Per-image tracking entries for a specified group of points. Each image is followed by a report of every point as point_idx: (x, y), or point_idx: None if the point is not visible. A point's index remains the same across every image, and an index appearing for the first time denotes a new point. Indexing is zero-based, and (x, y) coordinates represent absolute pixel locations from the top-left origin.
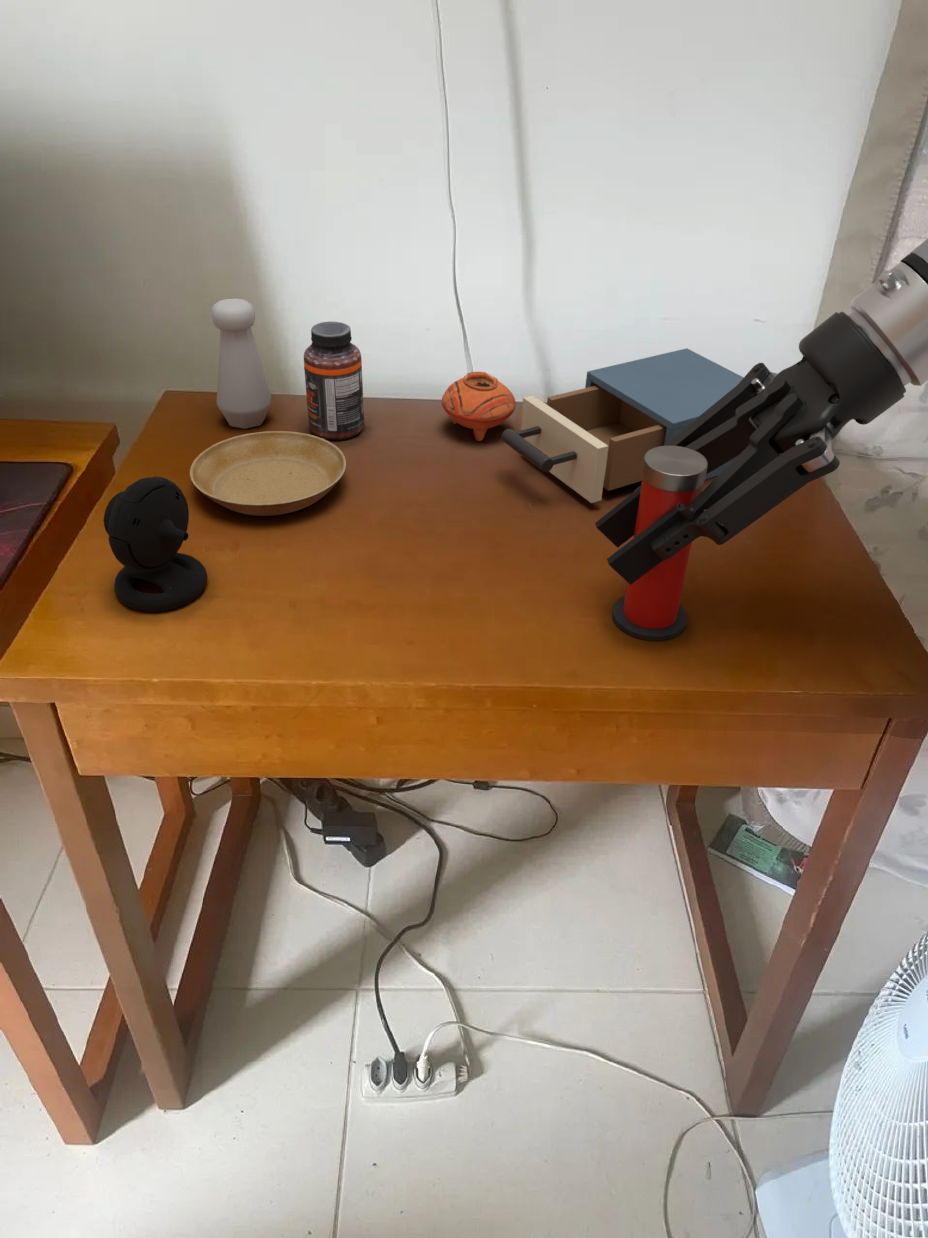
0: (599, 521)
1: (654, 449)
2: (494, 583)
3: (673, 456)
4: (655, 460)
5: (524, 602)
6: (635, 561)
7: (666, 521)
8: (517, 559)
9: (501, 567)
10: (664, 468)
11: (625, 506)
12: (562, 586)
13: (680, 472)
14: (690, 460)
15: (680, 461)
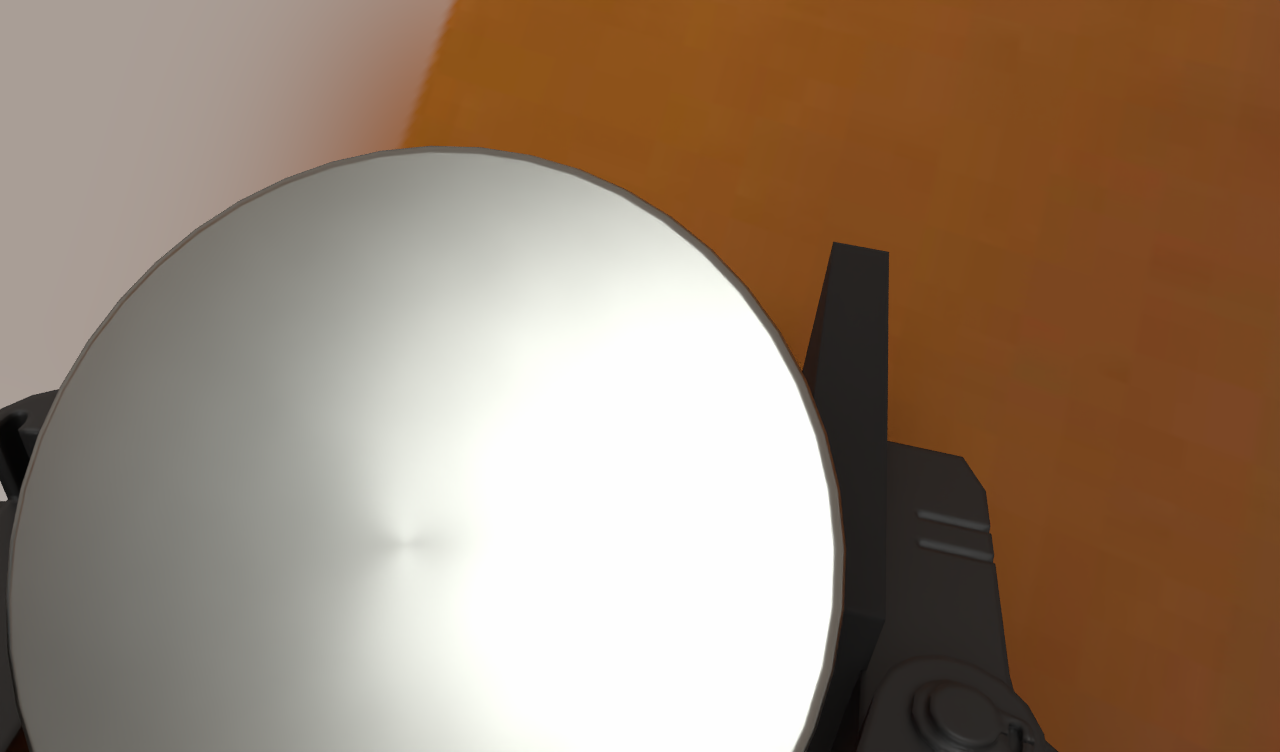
0: (870, 262)
1: (759, 383)
2: (997, 68)
3: (503, 554)
4: (481, 274)
5: (854, 138)
6: None
7: None
8: (1150, 194)
9: (1102, 119)
10: (252, 291)
11: (817, 356)
12: (924, 304)
13: (101, 443)
14: (336, 743)
15: (347, 582)
